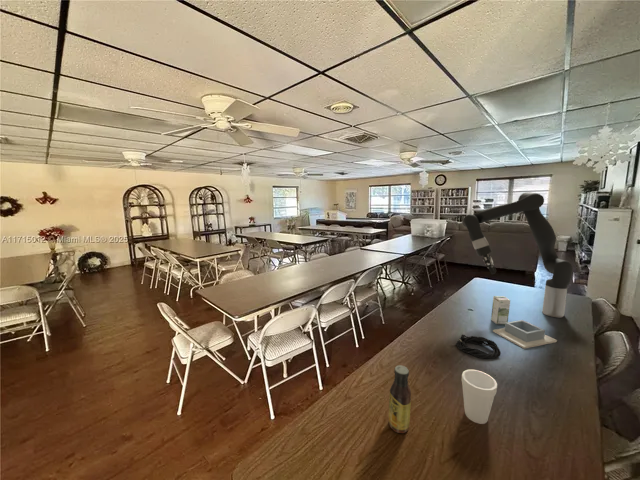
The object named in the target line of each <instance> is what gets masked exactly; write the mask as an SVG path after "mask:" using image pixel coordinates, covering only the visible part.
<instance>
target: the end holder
mask: <svg viewBox="0 0 640 480" xmlns="http://www.w3.org/2000/svg"><path fill="white" fill-rule="evenodd" d="M492 332H493V333H495V334H497V335H499V336H500V337H503V339H506V340H508V341H509V342H511V343H512V344H515V345H517V346H519V347H520V348H522V349H524V350H525V349H529V348H534V347H540V346H544V345H549V344H553V343H557V341H558V340H557V338H556V339H555V338H553V337H551V336H549V335H546V330H545V329H543V328H541V327H539V326H537V325H535V324H532V323H530V322H528V321H525V320H523V319H519V320H515V321H508V322H507V323H505V325H504V327H503V328H501V327H500V328H496V329H493V330H492Z"/></svg>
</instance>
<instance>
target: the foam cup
mask: <svg viewBox="0 0 640 480" xmlns="http://www.w3.org/2000/svg"><path fill="white" fill-rule="evenodd" d="M461 383H462V385H461V386H462V394H463V395H462V396H463V407H464V414H465V416H466V418H467V419H468V420H470V421H472V422H474V423H476V424H480V425H485V424H487V422H488V420H489V417H490V414H491V410H492V406H493V402H494V400H495V396H496V395H497V390H498V383H497V381H496V379H495V378H493V377H492V376H491V375H490V374H488V373H485V372H484V371H481V370H478V369H466V370H464V371H462V374H461Z"/></svg>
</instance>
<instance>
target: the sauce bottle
mask: <svg viewBox="0 0 640 480" xmlns="http://www.w3.org/2000/svg"><path fill="white" fill-rule="evenodd" d="M393 372H394V379H393V383H392V384H391V387H390V388H389V396H388V397H389V399H388V425H389V428H391V429H392V430H393V431H394V432H395V433H398V434H404V433H406V432H407V431H409V428H410V420H411V406H412V405H411V403H412V398H411V397H412V391H411V390H412V389H411V387H410V385H409V384H408V383H409V381H408V380H409V375H410V371H409V369H408V367H406V366H405V365H401V364H400V365H396V366H395V367H394V371H393Z"/></svg>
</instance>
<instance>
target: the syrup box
mask: <svg viewBox="0 0 640 480" xmlns="http://www.w3.org/2000/svg"><path fill="white" fill-rule="evenodd" d="M492 297H493V298H492V307H491V316H490V320H491V321H492V322H493V323H495V324H496V325H504V326H505V323H507V322H509V315H510V306H511V300H510V299H509V298H508V297H506V296H504V295H502V296H501V295H493V296H492Z"/></svg>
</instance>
